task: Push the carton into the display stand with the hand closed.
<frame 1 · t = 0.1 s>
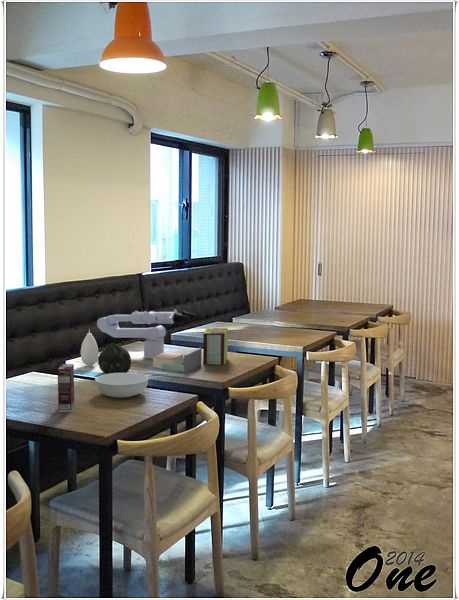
hand: (192, 317, 321), 22 cm above the table, tool horizontal, fingers open, 7 cm apart
squash: (115, 374, 296), on the table
protein box: (215, 362, 324), on the table
supplement box: (66, 409, 241), on the table
serving bowl: (121, 395, 261), on the table
white teardrop bulb: (89, 366, 309), on the table
display stand: (183, 367, 311), on the table
carton: (168, 366, 313), on the table
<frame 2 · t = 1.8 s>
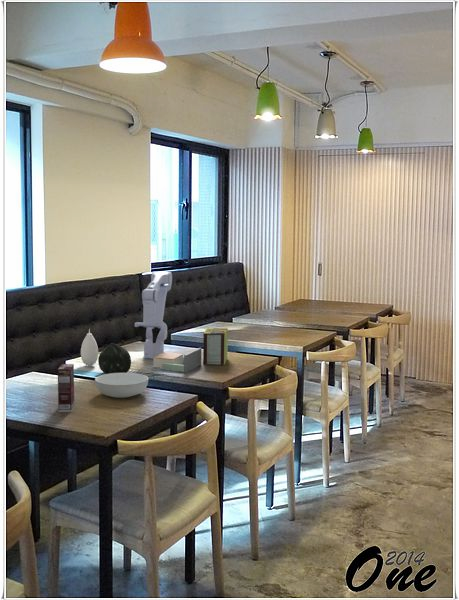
hand: (149, 342, 315), 10 cm above the table, tool pointing down, fingers open, 5 cm apart
nothing on the table moved.
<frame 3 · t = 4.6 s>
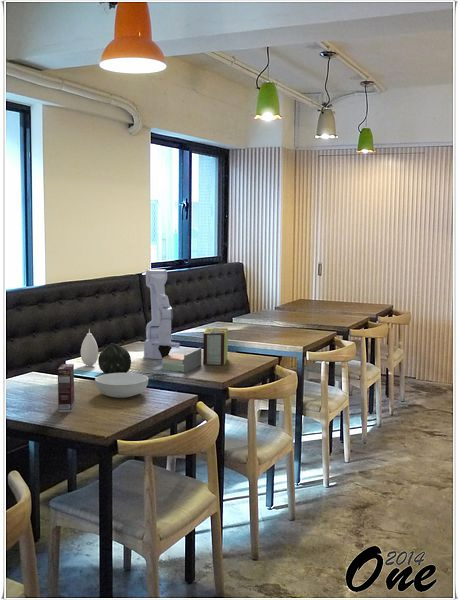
hand: (164, 361, 314), 2 cm above the table, tool pointing down, fingers closed
carton: (177, 367, 312), resting in display stand
everything else where it was.
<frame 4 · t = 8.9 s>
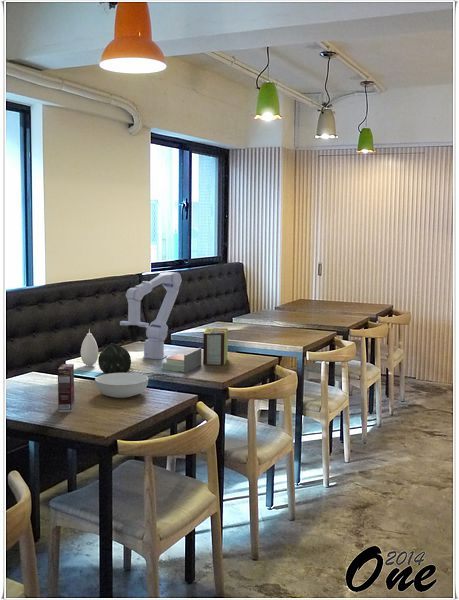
hand: (134, 341, 318), 10 cm above the table, tool pointing down, fingers closed
carton: (181, 367, 311), resting in display stand
everything else where it was.
at the end: carton 0.3 cm from the target spot on the display stand, point 0.0 cm above the display stand's base; carton tilted 0° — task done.
